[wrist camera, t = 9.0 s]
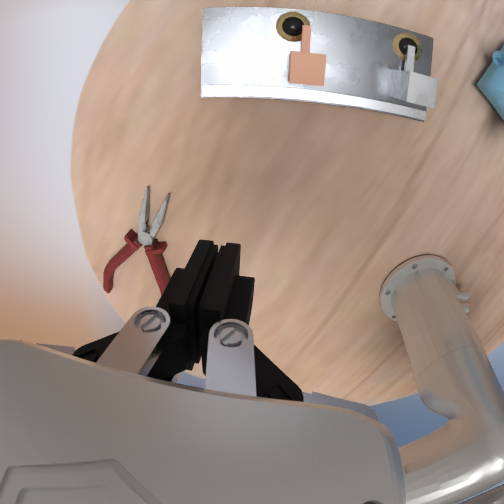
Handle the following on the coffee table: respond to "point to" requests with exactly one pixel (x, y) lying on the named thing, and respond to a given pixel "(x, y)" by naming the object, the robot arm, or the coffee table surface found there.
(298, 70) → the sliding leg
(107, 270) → the pliers
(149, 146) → the coffee table surface
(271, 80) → the plate
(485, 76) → the teapot
